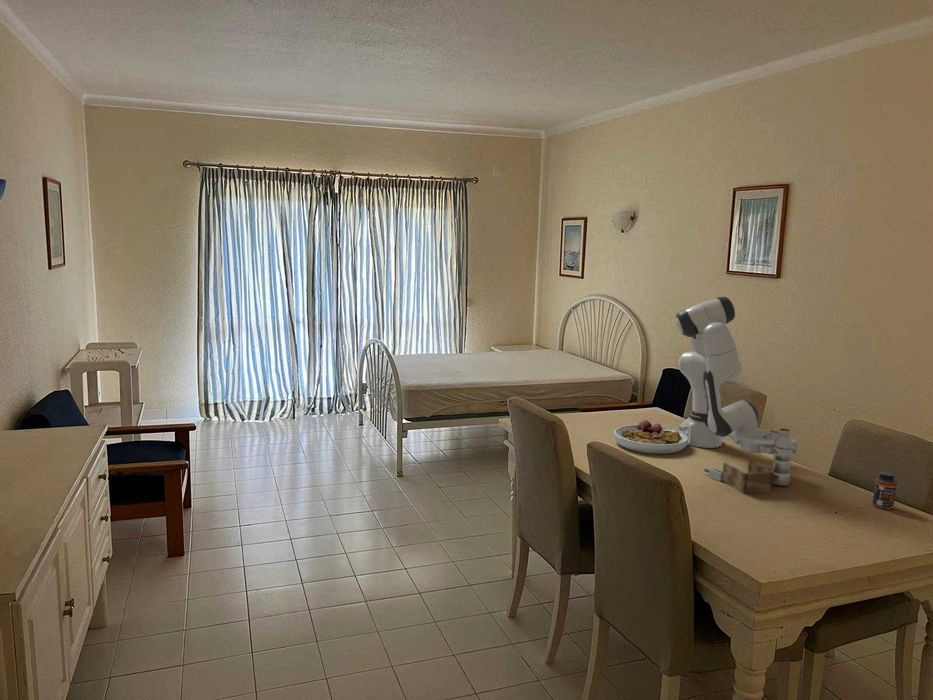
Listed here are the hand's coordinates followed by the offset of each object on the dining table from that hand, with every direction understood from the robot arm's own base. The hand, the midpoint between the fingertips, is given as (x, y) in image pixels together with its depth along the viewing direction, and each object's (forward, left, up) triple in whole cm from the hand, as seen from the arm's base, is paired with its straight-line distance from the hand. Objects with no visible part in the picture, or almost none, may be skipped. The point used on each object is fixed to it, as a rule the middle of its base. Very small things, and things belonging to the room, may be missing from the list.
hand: (782, 451), depth 246 cm
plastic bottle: (0, 0, -12) cm, 12 cm away
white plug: (-9, -19, -12) cm, 24 cm away
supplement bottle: (+24, +21, -12) cm, 34 cm away
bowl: (-52, -24, -13) cm, 59 cm away
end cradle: (0, -13, -12) cm, 18 cm away
